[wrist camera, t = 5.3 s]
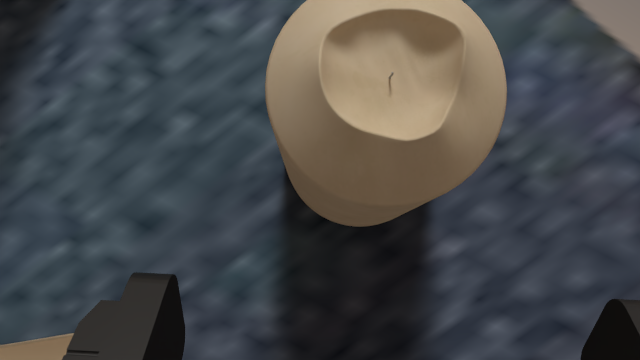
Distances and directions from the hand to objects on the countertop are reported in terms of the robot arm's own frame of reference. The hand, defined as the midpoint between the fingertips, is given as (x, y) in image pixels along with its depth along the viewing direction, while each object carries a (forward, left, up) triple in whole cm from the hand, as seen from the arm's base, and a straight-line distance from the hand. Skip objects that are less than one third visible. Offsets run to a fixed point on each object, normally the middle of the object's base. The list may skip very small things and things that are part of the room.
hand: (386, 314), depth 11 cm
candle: (+1, +5, -10) cm, 11 cm away
